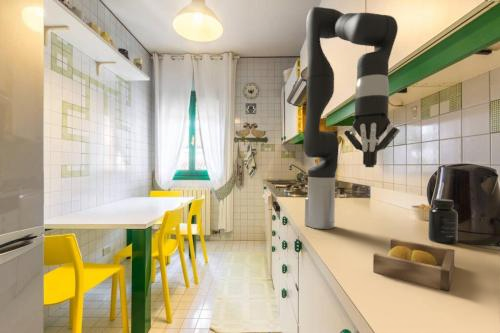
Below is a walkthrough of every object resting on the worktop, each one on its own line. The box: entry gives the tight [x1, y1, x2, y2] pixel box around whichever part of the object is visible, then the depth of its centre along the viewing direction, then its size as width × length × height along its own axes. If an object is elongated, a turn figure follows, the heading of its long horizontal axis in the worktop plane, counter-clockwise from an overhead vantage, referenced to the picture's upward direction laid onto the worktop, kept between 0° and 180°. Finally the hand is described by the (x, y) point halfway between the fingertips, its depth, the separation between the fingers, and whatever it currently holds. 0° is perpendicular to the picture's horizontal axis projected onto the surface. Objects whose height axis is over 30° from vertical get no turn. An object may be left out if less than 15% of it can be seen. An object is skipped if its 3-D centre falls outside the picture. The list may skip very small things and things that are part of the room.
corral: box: [372, 238, 455, 292], centre depth 55 cm, size 12×15×4 cm
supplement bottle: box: [427, 198, 459, 245], centre depth 76 cm, size 7×7×12 cm
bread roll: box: [387, 246, 438, 266], centre depth 57 cm, size 8×9×4 cm
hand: (369, 167), depth 65 cm, fingers closed
